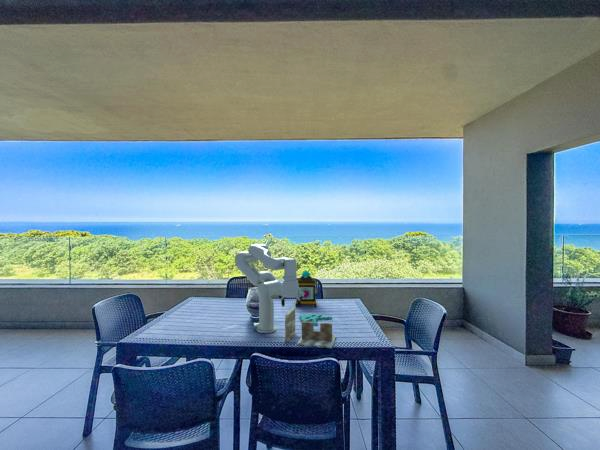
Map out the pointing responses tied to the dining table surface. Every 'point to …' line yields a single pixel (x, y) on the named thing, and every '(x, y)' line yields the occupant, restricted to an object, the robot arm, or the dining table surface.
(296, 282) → the robot arm
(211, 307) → the dining table surface
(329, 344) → the cross base
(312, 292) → the decorative lantern
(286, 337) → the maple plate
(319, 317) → the alien figure
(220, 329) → the dining table surface
